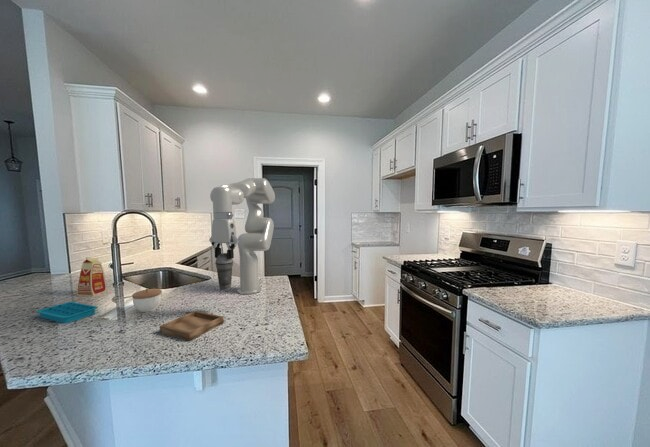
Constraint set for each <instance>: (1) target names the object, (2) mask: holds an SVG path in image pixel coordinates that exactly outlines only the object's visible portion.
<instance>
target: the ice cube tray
mask: <svg viewBox="0 0 650 447" xmlns="http://www.w3.org/2000/svg"><path fill="white" fill-rule="evenodd" d="M98 308H99V307H98V306H96V305H91V304H86V303H80V302H76V301H75V302H74V301H68V302H63V303H61V304H56V305H53V306H49V307H46V308H43V309H42V308H41V309H38V310H36V311H35V312H36V313H37V314H39V317H40V318H42V319H45V320H50V321H54V322H59V323H62V324H69V323H71V322H74V321H78V320H80V319H84V318H87V317H89V316H93V315H95V313H96V310H97V309H98Z"/></svg>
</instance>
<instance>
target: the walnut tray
mask: <svg viewBox="0 0 650 447" xmlns="http://www.w3.org/2000/svg"><path fill="white" fill-rule="evenodd" d="M224 322H225V321H224V316H222V315H217V314H214V313H213V314H212V313H209V312H203V311H198V310H194V311H192V312H190V313H188V314H185V315H182V316H180V317H178V318H176V319H173V320H171V321H169V322H166V323H164V324H161V325H160V326H159V333H160V334H163V335H167V336H169V337H170V336H171V337H174V338H177V339H180V340H184V341H188V342H191V341H193V340H195V339H196V338H198V337H200V336H202V335H203V334H206V333H207V332H210V331H211V330H213V329H214V328H217V327H218V326H221V325H222V324H224Z"/></svg>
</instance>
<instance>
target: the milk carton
mask: <svg viewBox="0 0 650 447" xmlns="http://www.w3.org/2000/svg"><path fill="white" fill-rule="evenodd" d="M107 291H108V289H107V282H106V276H105V271H104V267H103V264H102V262H101V261H100V260H99V257H87V256H86V257H85V260H84V261H83V262H82V265H81V269H80V272H79V278H78V282H77V291H76V296H77V297H95V296H98V295H101V294H103V293H106V292H107Z"/></svg>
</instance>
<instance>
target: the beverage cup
mask: <svg viewBox="0 0 650 447" xmlns="http://www.w3.org/2000/svg"><path fill="white" fill-rule="evenodd" d="M220 248H221V254H220V255H219V256H218V257H217V258H215V262H214V264H215V268H216V272H217V280H218V287H219V290H220V291H228V290H231V288H232V287H231V286H232V276H233V265H234V258H232V259H227V252H224V248H223V243H221V246H220Z"/></svg>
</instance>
